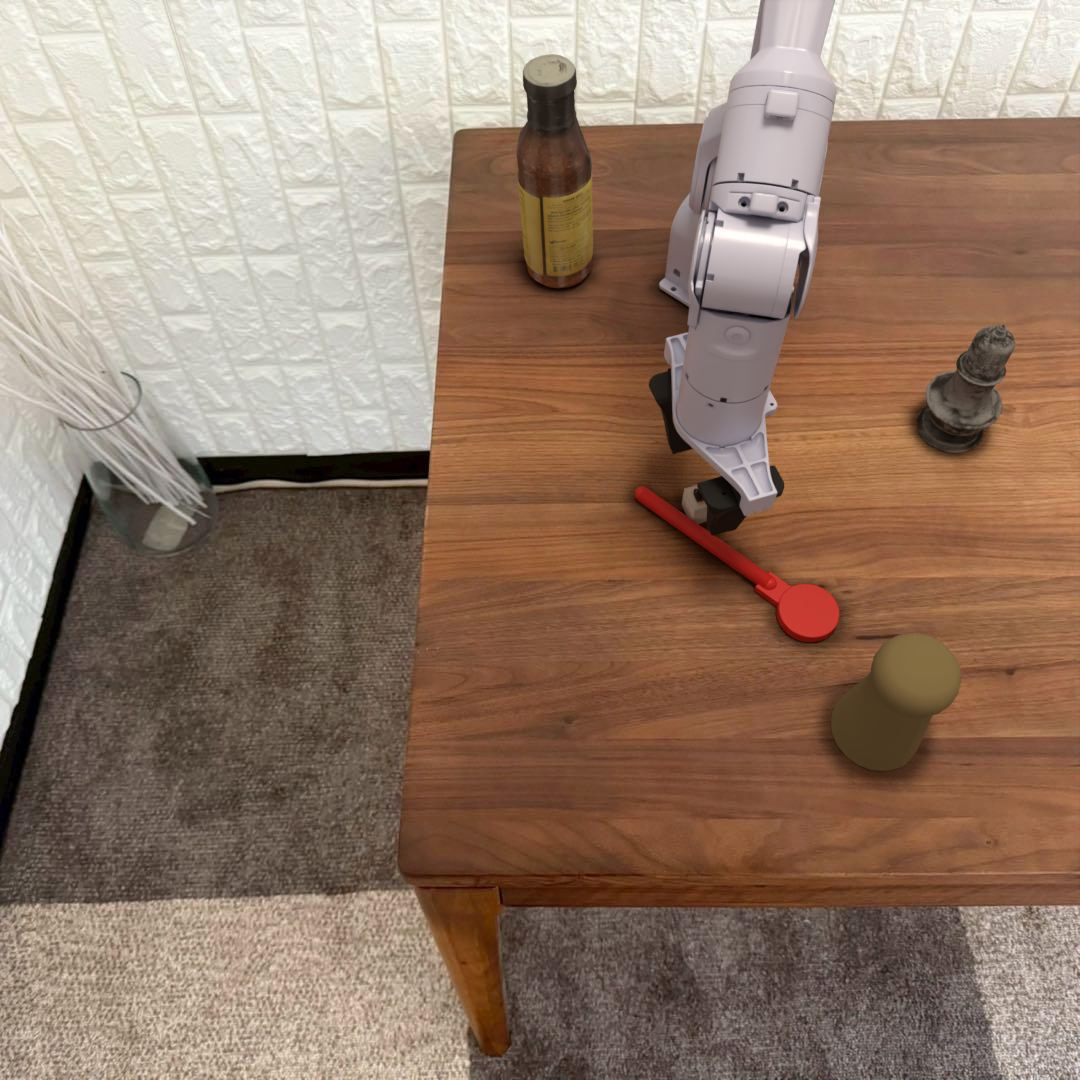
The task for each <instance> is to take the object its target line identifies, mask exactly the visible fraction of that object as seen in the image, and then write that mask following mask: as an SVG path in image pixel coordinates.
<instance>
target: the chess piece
mask: <svg viewBox="0 0 1080 1080" xmlns="http://www.w3.org/2000/svg"><path fill="white" fill-rule="evenodd" d="M1015 348H1016V339H1015V336H1014V335H1013V333H1012V332H1011V331H1010V330H1009V329H1008V328H1007V326H1006V324H1004V323H1003V324H1000V325H988V326H985V327H982V328H980V330H978V331H977V332H976V334H975V335H974V336H973V339H972V341H971V343H970V345H969V347H968V350H966V351H963V352H962V353H961V354H959V356H958V357H957V358H956V363H955V367H956V370H950V371H945V372H942V373H939V374H937V375H936V376H935V377H933V378H932V379H931V380H930V381H929V383H928V385H927V386H926V389H925V403H926V405H925V406H924V407H922V408H921V409H920V411H919V412H918V413H917V416H916V421H915V422H916V429H917V431H918V434H919V435H920V437H921V438H922V439H923V441H924V442H926V443H927V444H928V445H930V446H931V447H932V448H934V449H937V450H939V451H941V452H944V453H949V454H961V453H966V452H970V451H972V450H973V449H974V448H976V447H977V446H979V444H980V442H981V441H982V439H983V436H984V430H985V429H986V428H988V427H991V426H992V425H993V424H994V423H995V422H997V421H998V420H999V418H1000V417H1001V414H1002V413H1003V406H1004V404H1003V400H1002V396H1001V394H1000V392H999V391H998V389H997V388H996V387H995V386H996V385H999V384H1000V383H1001V382H1002V381H1004V379H1005V377H1006V374H1007V367H1006V365H1007V363H1008V361H1009V359H1010V357H1012V354H1013V352H1014V351H1015Z"/></svg>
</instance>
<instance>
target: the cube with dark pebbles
mask: <svg viewBox="0 0 1080 1080" xmlns="http://www.w3.org/2000/svg"><path fill="white" fill-rule="evenodd" d="M681 507H682V508H683V511H684V513H685V515H686V516H687V517H689V518H690V519H691V520H693V521H694V522H696V523H697V524H699V525H701V524H703V523H707V505H706V504H705V502H704V499H703V497H702V495H701V493H700V491H699V489H698V487H697V484H696V485H693V486H688V487H685V488H684V489H683V494H682V498H681Z"/></svg>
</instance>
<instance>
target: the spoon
mask: <svg viewBox="0 0 1080 1080" xmlns="http://www.w3.org/2000/svg"><path fill="white" fill-rule="evenodd" d="M634 498H635V499H636V501H637V502H639V503H640V504H642V505H643V506H644V507H646V508H647V509H648V510H650V511H652V512H653V513H654V514H655V515H657V516H659V517H660V518H661V519H663V520H664V521H665V522H667V523H668V524H669V525H671V526H673V527H674V528H675V529H677V530H679V532H681V533H682V534H684V535H685V536H686V537H688V538H689V539H691V540H692V541H694V542H695V543H696V544H698V545H700V546H701V547H702V548H703V549H705V550H706V551H708V552H709V553H711V554H712V555H714V556H715V557H716V558H717V559H719V560H720V561H722V562H723V563H724V564H726V565H727V566H729V567H730V568H732V569H733V570H734V571H736V572H737V573H739V575H742V576H743V577H744V578H746V579H747V580H748V581H750V582H751V583H752V584H754V585H755V587H754V592H755V593H757V594H758V595H759V596H761V597H762V598H764V599H765V600H766V601H767V602H769V603H770V604H772V605H773V606H775V608H776V619H777V622H778V624H779V626H780V627H781V629H782V630H783V632H785V633H786V634H787V635H789V636H790V637H791V638H793V639H795V640H797V641H800V642H803V643H817V642H821V641H823V640H825V639H827V638H829V637H830V636H831V635H832V634H833V633H834V632H835V630H836V628H837V626H838V624H839V621H840V608H839V605H838V602H837V600H836V599H835V598H834V596H833V595H832V594H831V593H830V592H829V591H827V590H826V589H825V588H823V587H821V586H820V585H816V584H812V583H798V584H794V585H793V586H792V585H790V584H788V583H787V582H786V581H785V580H783V579H781V578H780V577H779V576H777V575H776V574H775V573H773V572H772V571H770V570H769V571H765V570H764V569H762V567H760V566H758V565H757V564H756V563H754V562H752V561H751V560H750V559H749V558H747V557H746V556H744V555H743V554H742V553H740V552H738V551H737V550H736V549H735V548H733V547H732V546H730V545H728V544H727V543H725V542H724V541H723V540H722V539H720V538H719V537H717V535H715V536H712V535H711V533H710V531H709V530H707V529H706V528H704V527H703V526H701V524H697V523H696V522H694V521H693V520H691V519H690V518H689V517H687V515H686V514H684V513H683V512H681V511H680V510H679V509H678V508H676V507H674V506H673V505H672V504H670V503H668V501H666V500H664V499H663V498H662V497H661V496H659V495H657V494H656V493H654V492H653V491H651V490H650V489H649V488H647V487H645V486H639V487H637V488H636V489H635V491H634Z"/></svg>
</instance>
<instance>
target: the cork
mask: <svg viewBox="0 0 1080 1080" xmlns="http://www.w3.org/2000/svg"><path fill="white" fill-rule="evenodd" d="M962 679H963V677H962V671H961V666H960V664H959V662H958V659H957V657H956V656H955V654H954V653H953V652H952V651H951V649H950V648H949V647H948V646H947V645H946V644H945V643H944V642H942V641H940V640H939V639H937V638H936V637H934V636H930V635H927V634H924V633H921V632H906V633H902V634H897V635H894V636H893V637H892V638H890V639H889V640H887V641H885V642H884V643H882V644H881V645H880V648H878V650H877V651H876V652H875V654H874V656H873V659H872V662H871V665H870V671H869V673H868V674H866V675H865V677H863V678H862V679H861V680H860V681H859V682H857V683H856V684H855V685H854V686H852V688H850V689H849V690H848V691H847V692H846V693H845V694H843V695H842V696H841V697H840V698H839V700H838V701H837V703H836V704H835V705H834V707H833V709H832V713H831V717H830V729H831V734H832V737H833V739H834V742H835V745H836V746H837V748H838V749H840V751H841V752H842V753H843V755H844V756H845V757H846V758H847V759H849V760H850V761H851V762H853V763H854V764H856V765H857V766H860V767H862V768H865V769H868V770H870V771H876V772H877V771H878V772H888V771H893V770H896V769H901V768H902V767H903V766H905V765H906V764H908V763H910V762H911V760H912V759H913V757H914V756H915V754H916V752H917V751H918V750H919V747H920V745H921V743H922V740H923V739H924V736H925V734H926V732H927V729H928V727H929V725H930V723H931V720H932V718H933V716H937V715H939V714H941V713H942V712H943V711H945V710H947V709H948V708H949V707H950V706H951V705H952V704H953V702H954V701H955V699H956V698H957V697H958V695H959V693H960V688H961V682H962Z"/></svg>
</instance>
